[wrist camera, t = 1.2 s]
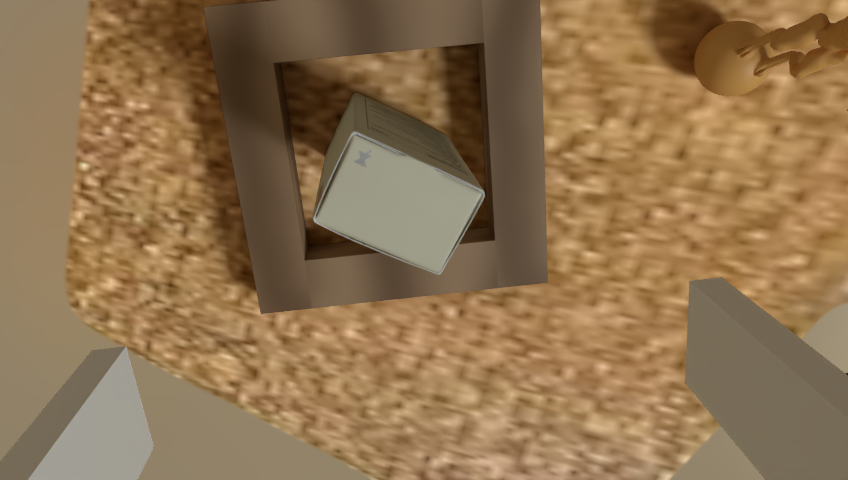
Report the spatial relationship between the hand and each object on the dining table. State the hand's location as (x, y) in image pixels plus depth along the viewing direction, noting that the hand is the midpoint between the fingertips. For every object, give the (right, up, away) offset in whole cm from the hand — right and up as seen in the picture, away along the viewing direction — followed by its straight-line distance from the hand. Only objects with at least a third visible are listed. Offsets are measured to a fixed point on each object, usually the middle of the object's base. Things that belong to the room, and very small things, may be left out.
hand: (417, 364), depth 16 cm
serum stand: (-2, +8, +23) cm, 25 cm away
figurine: (+18, +14, +23) cm, 32 cm away
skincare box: (-2, +8, +23) cm, 25 cm away
